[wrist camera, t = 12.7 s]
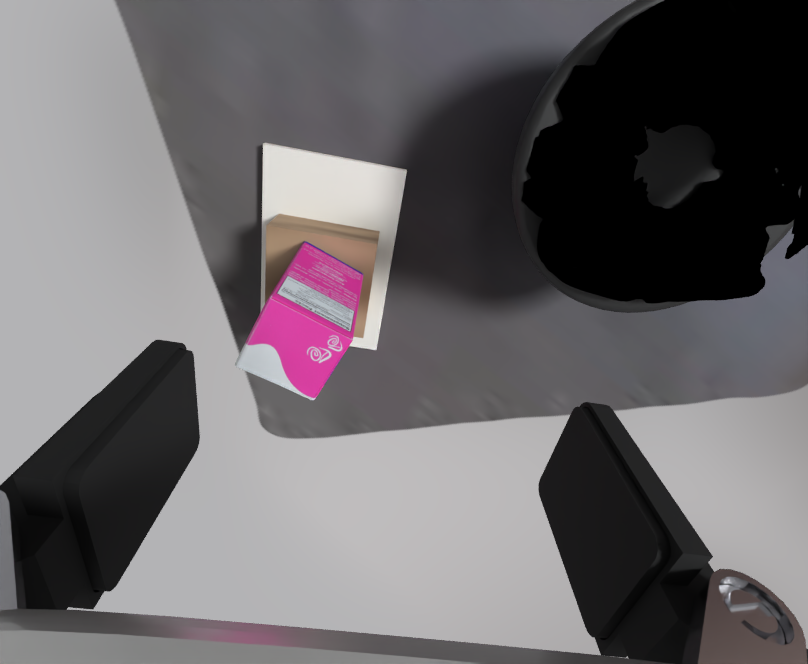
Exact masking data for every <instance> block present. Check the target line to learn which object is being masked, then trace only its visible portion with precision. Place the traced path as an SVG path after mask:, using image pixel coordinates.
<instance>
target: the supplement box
mask: <svg viewBox="0 0 808 664" xmlns="http://www.w3.org/2000/svg"><path fill="white" fill-rule="evenodd" d="M363 276H364V275H363V273H361V272H360V271H358V270H356V269H354V268H352V267H351V266H349V265H347V264H345V263H344V262H342V261H340V260H338V259H337V258H335V257H333V256H331V255H330V254H328V253H326V252H324V251H323V250H321V249H319V248H317V247H316V246H314V245H312V244H310V243H308V242H307V241H304V242H303V243H302V245H301V246H300V248H299V250H298V252H297V253H296V255H295V256H294V258H293V260H292V261H291V263H290V264H289V266H288V268H287V269H286V271H285V273H284V274H283V276H282V277H281V279H280V281H279V282H278V284H277V285H276V287H275V288H274V290H273V292H272V293H271V295H270V297H269V298H268V300H267V302H266V303H265V305H264V307H263V309H262V311H261V313H260V315H259V317H258V318H257V320H256V322H255V324H254V326H253V328H252V330H251V332H250V334H249V336H248V338H247V340H246V343H245V345H244V347H243V349H242V351H241V353H240V355H239V357H238V359H237V361H236V363H235V366H236V367H238V368H240V369H243V370H245V371H247V372H250V373H252V374H254V375H257V376H259V377H261V378H264V379H266V380H268V381H271V382H273V383H275V384H278V385H280V386H282V387H284V388H286V389H288V390H291V391H293V392H295V393H297V394H299V395H302V396H304V397H306V398H308V399H310V400H314V399H315V398H316V397H317V395H318V394H319V392H320V391H321V389H322V388H323V386H324V384H325V383H326V381H327V380H328V378H329V377H330V375H331V374H332V372H333V370H334V369H335V367H336V366H337V364H338V363H339V361H340V359H341V358H342V356H343V355H344V353H345V352H346V350H347V349H348V347H349V345H350V344H351V342H352V341H353V336H354V330H355V324H356V318H357V311H358V306H359V299H360V293H361V288H362V281H363Z"/></svg>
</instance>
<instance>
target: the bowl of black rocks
mask: <svg viewBox="0 0 808 664" xmlns="http://www.w3.org/2000/svg"><path fill="white" fill-rule="evenodd" d="M512 204H513V211H514V216H515V221H516V225H517V229H518V232H519V235H520V238H521V240H522V242H523V245H524V247H525V249H526V251H527V253H528V255H529V257H530V258H531V260H532V262H533V263H534V265H535V266H536V268H537V269H538V270H539V272H540V273H541V274H542V275H543V276H544V277H545V278H546V279H547V281H548V282H550V283H551V284H552V285H553V286H554V287H555V288H557V289H558V290H559V291H561V292H562V293H564V294H565V295H567V296H569V297H570V298H572V299H574V300H576V301H578V302H581V303H583V304H586V305H589V306H591V307H595V308H599V309H602V310H608V311H614V312H627V313H630V312H648V311H656V310H661V309H667V308H670V307H674V306H678V305H681V304H684V303H687V302H690V301H698V300H728V299H734V298H742V297H749V296H752V295H755V294H757V293H758V292H759V291H760V290H761V289H763V287H764V286H765V279H764V277H763V276H762V273H761V270H760V268H761V264H760V263H761V262H762V260H763V257H764V256H765V255H766V254H767V253H768V252H769V251H771V250H772V249H773V248H774V247H775V246H776V245H777V244H778V243H779V241H780V240H781V239H782V238H783V237H784V236H785V235H786V234H787V233H788V231H789V230H790V229H791V228H792V227H793V229H792V234H794V238H793V241H792V243H791V244H790V245H789V246H788V248H787V252H786V255H785V258H786V259H789V258H791V257H792V256H793V255H795V254H797V253H798V252H799V251H800V250H801V249H803V248H805V246H806V245H808V0H636V1H634V2H632V3H631V4H629V5H627V6H626V7H624V8H623V9H621V10H619V11H618V12H616V13H615V14H614V15H612V16H611V17H609V18H608V19H607V20H605V21H604V22H603V23H601V24H600V25H599V26H597V27H596V28H595V29H594V30H593V31H592V32H590V33H589V34H588V35H587V36H586V37H585V38H584V39H582V40H581V41H580V43H579V44H578V45H577V46H576V47H575V48H574V49H573V50H572V51H571V52H570V53H569V54H568V55H567V56H566V57H565V58H564V59H563V61H562V62H561V63H560V64H559V66H558V67H557V68H556V69H555V70H554V72H553V73H552V75H551V76H550V77H549V79H548V80H547V82H546V83H545V85H544V86H543V88H542V90H541V91H540V93H539V95H538V96H537V98H536V100H535V102H534V104H533V106H532V108H531V110H530V112H529V114H528V116H527V118H526V121H525V124H524V126H523V129H522V131H521V134H520V138H519V141H518V145H517V148H516V153H515V158H514V163H513V172H512Z"/></svg>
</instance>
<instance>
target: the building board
mask: <svg viewBox="0 0 808 664" xmlns="http://www.w3.org/2000/svg"><path fill="white" fill-rule="evenodd" d="M406 173H407V169H402V168H396V167H391V166H386V165H381V164H375V163H370V162H365V161H359V160H354V159H349V158H344V157H338V156H333V155H328V154H323V153H317V152H312V151H307V150H301V149H296V148H291V147H286V146H280V145H275V144H270V143H264V144H263V189H262V257H261V311H262V309H263V307H264V305H265V271H266V225H267V224H268V223H269V222H271V221H272V220H273V219H274V218H275V217H276V216H277V215H278V214H284V215H290V216H296V217H301V218H307V219H313V220H318V221H324V222H330V223H336V224H341V225H347V226H353V227H358V228H364V229H370V230H375V231H380V233H379V240H378V246H377V253H376V259H375V266H374V273H373V279H372V286H371V292H370V299H369V306H368V312H367V319H366V325H365V331H364V337H363V338H359V337H353V341H352V342H351V344H350V345H349V346H352V347H359V348H366V349H372V350H376V349H377V343H378V337H379V331H380V325H381V320H382V314H383V308H384V302H385V296H386V290H387V284H388V279H389V273H390V267H391V261H392V255H393V249H394V244H395V238H396V232H397V226H398V220H399V214H400V208H401V203H402V197H403V191H404V185H405V179H406Z"/></svg>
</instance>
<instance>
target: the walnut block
mask: <svg viewBox="0 0 808 664" xmlns="http://www.w3.org/2000/svg"><path fill="white" fill-rule="evenodd" d="M379 233H380V231H375V230H370V229H364V228H358V227H353V226H347V225H341V224H336V223H330V222H324V221H318V220H313V219H307V218H301V217H296V216H290V215H284V214H278V215H277V216H276V217H275V218H274V219H273V220H272V221H271V222H269V223H268V224H267V225H266V271H265V303H266V302H267V300H268V298H269V297H270V295H271V293H272V292H273V290H274V288H275V287H276V285H277V284H278V282H279V281H280V279H281V277H282V276H283V274H284V273H285V271H286V269H287V268H288V266H289V264H290V263H291V261H292V260H293V258H294V256H295V255H296V253H297V252H298V250H299V248H300V246H301V245H302V243H303V242H304V241H307V242H308V243H310V244H312V245H314V246H316V247H317V248H319V249H321V250H323V251H324V252H326V253H328V254H330V255H331V256H333V257H335V258H337V259H338V260H340V261H342V262H344V263H345V264H347V265H349V266H351V267H352V268H354V269H356V270H358V271H360V272H361V273H363V275H364V276H363V281H362V288H361V293H360V299H359V306H358V311H357V318H356V324H355V330H354V336H353V337H359V338H363V337H364V331H365V325H366V319H367V312H368V306H369V299H370V292H371V286H372V279H373V273H374V266H375V259H376V253H377V246H378V240H379Z"/></svg>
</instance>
